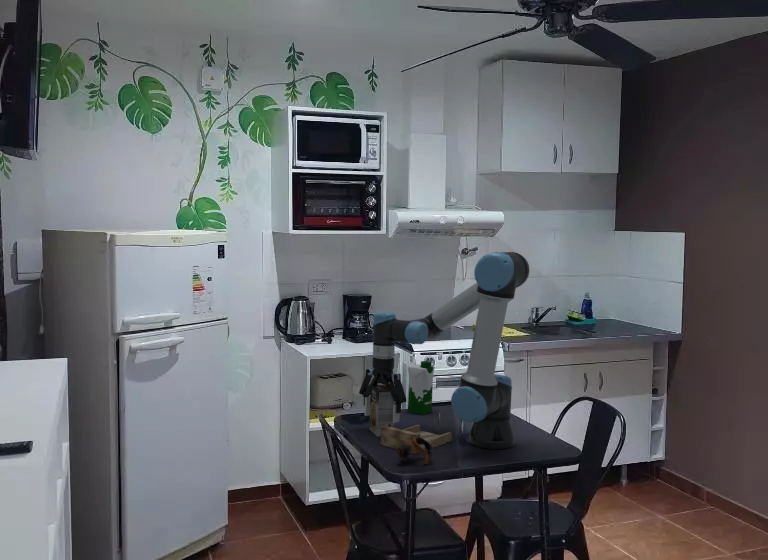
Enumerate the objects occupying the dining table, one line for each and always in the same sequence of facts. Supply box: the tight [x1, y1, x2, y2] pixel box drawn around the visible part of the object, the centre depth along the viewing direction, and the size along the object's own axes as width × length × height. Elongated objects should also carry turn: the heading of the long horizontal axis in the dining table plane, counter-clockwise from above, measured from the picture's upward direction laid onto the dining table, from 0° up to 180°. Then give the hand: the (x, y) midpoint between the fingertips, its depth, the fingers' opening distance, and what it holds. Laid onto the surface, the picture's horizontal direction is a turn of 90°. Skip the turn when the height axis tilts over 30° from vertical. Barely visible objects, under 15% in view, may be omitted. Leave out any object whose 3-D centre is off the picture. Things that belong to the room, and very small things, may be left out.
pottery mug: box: [396, 437, 434, 465], centre depth 216 cm, size 12×10×8 cm
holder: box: [379, 424, 453, 455], centre depth 236 cm, size 15×20×6 cm
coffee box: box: [369, 384, 395, 438], centre depth 247 cm, size 9×6×16 cm
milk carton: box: [407, 360, 436, 416], centre depth 277 cm, size 9×9×20 cm
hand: (381, 418), depth 247 cm, fingers open, 12 cm apart
